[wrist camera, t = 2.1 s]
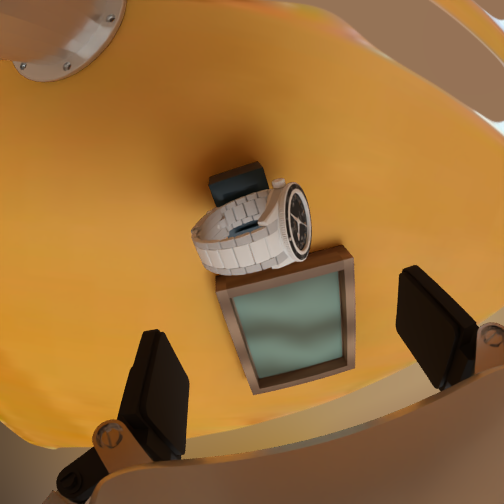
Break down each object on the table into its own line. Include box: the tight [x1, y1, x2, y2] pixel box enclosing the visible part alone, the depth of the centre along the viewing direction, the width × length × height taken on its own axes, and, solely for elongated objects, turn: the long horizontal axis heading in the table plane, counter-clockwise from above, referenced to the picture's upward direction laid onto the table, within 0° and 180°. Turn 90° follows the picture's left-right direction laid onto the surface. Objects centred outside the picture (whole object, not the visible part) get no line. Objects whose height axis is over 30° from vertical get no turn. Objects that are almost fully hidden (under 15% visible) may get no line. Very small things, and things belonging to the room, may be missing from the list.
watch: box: [191, 162, 312, 275], centre depth 21 cm, size 6×8×11 cm
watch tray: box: [216, 245, 356, 395], centre depth 32 cm, size 16×13×3 cm
